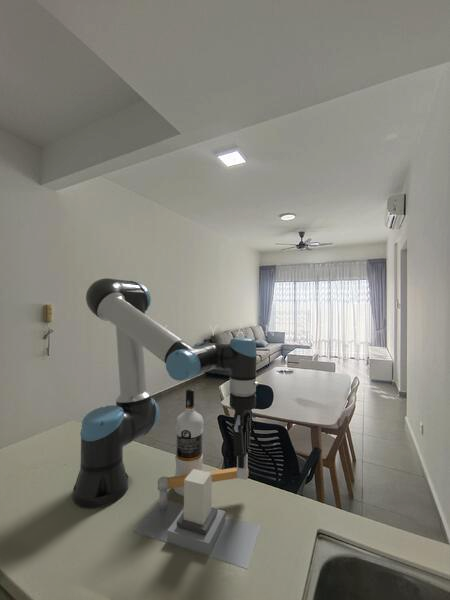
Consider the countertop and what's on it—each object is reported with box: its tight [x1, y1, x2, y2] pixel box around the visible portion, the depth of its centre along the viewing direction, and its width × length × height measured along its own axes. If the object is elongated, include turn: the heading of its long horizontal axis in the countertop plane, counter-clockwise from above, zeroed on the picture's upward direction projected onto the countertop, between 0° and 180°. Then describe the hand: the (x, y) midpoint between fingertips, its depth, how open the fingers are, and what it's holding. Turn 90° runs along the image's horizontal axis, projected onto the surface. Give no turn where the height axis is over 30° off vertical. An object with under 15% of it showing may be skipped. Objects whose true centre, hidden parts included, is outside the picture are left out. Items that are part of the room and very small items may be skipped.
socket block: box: [133, 490, 262, 570], centre depth 69 cm, size 28×12×6 cm, turn 70°
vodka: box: [173, 388, 204, 497], centre depth 86 cm, size 9×9×30 cm
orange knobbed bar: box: [157, 466, 250, 492], centre depth 79 cm, size 26×3×3 cm, turn 105°
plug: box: [177, 469, 219, 535], centre depth 69 cm, size 7×7×13 cm
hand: (242, 477), depth 80 cm, fingers closed
